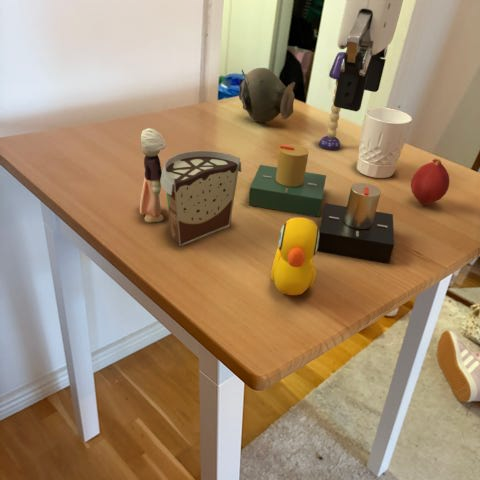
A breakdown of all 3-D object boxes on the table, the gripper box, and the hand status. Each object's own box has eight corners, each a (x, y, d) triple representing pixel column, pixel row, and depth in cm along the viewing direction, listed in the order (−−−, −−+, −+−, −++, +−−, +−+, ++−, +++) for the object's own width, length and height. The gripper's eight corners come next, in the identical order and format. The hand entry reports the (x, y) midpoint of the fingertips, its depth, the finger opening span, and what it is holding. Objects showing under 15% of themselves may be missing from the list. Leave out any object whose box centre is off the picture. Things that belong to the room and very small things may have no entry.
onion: (412, 193, 90) (427, 147, 85) (445, 204, 88) (462, 158, 83) (400, 204, 86) (414, 157, 81) (433, 216, 84) (450, 169, 79)
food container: (208, 207, 81) (212, 142, 74) (237, 223, 77) (242, 157, 71) (142, 231, 73) (140, 162, 67) (170, 250, 70) (170, 179, 64)
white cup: (364, 158, 101) (377, 104, 94) (402, 171, 97) (418, 116, 91) (345, 170, 96) (357, 114, 89) (385, 184, 92) (401, 126, 86)
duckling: (309, 321, 61) (325, 247, 55) (263, 313, 61) (274, 239, 55) (314, 267, 70) (328, 198, 63) (273, 261, 70) (283, 192, 64)
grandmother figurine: (133, 206, 79) (129, 120, 71) (159, 203, 80) (157, 118, 72) (146, 231, 73) (143, 142, 65) (173, 228, 75) (173, 139, 67)
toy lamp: (312, 143, 104) (327, 51, 94) (327, 139, 107) (344, 49, 96) (330, 152, 102) (348, 58, 91) (345, 147, 104) (365, 55, 94)
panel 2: (387, 232, 79) (393, 212, 77) (388, 263, 72) (394, 243, 70) (321, 220, 80) (325, 201, 78) (316, 251, 73) (320, 230, 71)
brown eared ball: (273, 135, 106) (280, 80, 100) (224, 119, 111) (227, 66, 104) (297, 122, 113) (304, 71, 107) (249, 108, 118) (254, 58, 111)
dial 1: (304, 177, 84) (310, 144, 81) (301, 188, 81) (307, 155, 78) (277, 172, 85) (282, 140, 82) (273, 184, 82) (278, 150, 78)
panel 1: (323, 192, 88) (326, 174, 86) (318, 217, 81) (322, 198, 79) (258, 181, 89) (260, 163, 87) (248, 205, 82) (250, 186, 80)
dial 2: (344, 213, 76) (352, 178, 73) (372, 217, 76) (381, 183, 72) (343, 226, 73) (351, 191, 69) (372, 231, 72) (382, 196, 69)
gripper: (376, -73, 64) (346, 78, 75) (336, -70, 51) (307, 110, 62) (439, -65, 62) (399, 88, 73) (413, -61, 49) (369, 124, 60)
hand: (356, 98), depth 67 cm, fingers open, 9 cm apart
